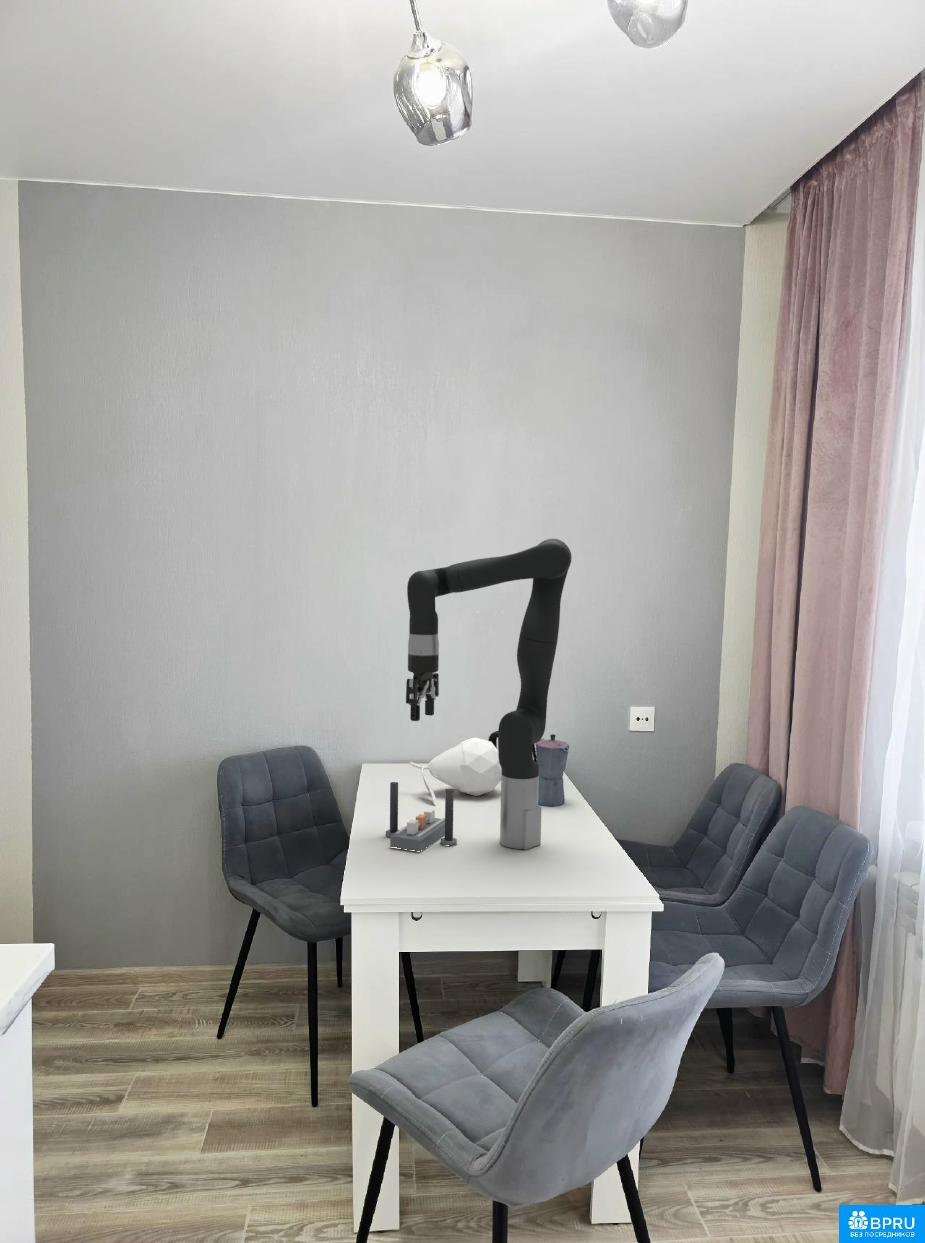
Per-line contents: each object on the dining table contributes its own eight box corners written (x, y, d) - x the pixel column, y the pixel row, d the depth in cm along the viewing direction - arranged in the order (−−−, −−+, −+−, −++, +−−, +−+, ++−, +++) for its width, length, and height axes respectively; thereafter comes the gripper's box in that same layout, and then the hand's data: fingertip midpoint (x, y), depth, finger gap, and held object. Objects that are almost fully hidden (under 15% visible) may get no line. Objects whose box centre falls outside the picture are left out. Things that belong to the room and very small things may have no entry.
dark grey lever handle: (405, 835, 227) (405, 783, 226) (393, 839, 224) (394, 786, 223) (393, 832, 230) (394, 780, 229) (382, 835, 227) (382, 783, 226)
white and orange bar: (413, 834, 218) (413, 823, 218) (406, 833, 219) (407, 822, 218) (434, 820, 230) (434, 809, 229) (428, 819, 230) (428, 808, 230)
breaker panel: (420, 852, 215) (420, 838, 214) (390, 848, 218) (390, 833, 217) (449, 831, 231) (449, 817, 231) (421, 827, 234) (421, 813, 234)
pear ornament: (503, 725, 269) (409, 727, 265) (515, 784, 252) (415, 787, 248) (497, 761, 280) (406, 764, 276) (508, 821, 263) (412, 824, 259)
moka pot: (556, 811, 251) (558, 740, 250) (517, 799, 263) (518, 731, 261) (578, 805, 258) (580, 735, 256) (539, 793, 269) (541, 727, 268)
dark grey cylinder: (460, 843, 222) (461, 789, 221) (449, 847, 219) (450, 792, 218) (448, 840, 225) (449, 786, 223) (437, 843, 222) (437, 789, 220)
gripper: (425, 656, 213) (424, 724, 214) (448, 650, 226) (447, 714, 227) (396, 654, 216) (395, 721, 217) (421, 648, 229) (420, 712, 230)
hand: (422, 717), depth 222 cm, fingers open, 8 cm apart
